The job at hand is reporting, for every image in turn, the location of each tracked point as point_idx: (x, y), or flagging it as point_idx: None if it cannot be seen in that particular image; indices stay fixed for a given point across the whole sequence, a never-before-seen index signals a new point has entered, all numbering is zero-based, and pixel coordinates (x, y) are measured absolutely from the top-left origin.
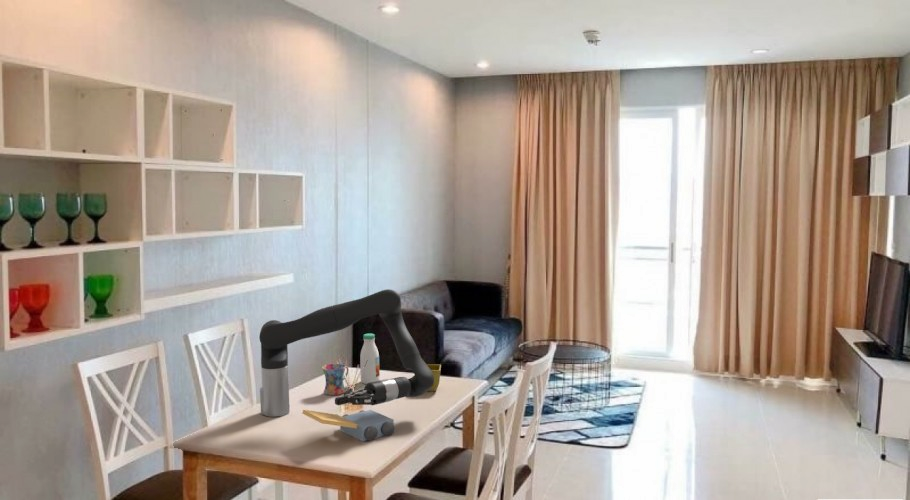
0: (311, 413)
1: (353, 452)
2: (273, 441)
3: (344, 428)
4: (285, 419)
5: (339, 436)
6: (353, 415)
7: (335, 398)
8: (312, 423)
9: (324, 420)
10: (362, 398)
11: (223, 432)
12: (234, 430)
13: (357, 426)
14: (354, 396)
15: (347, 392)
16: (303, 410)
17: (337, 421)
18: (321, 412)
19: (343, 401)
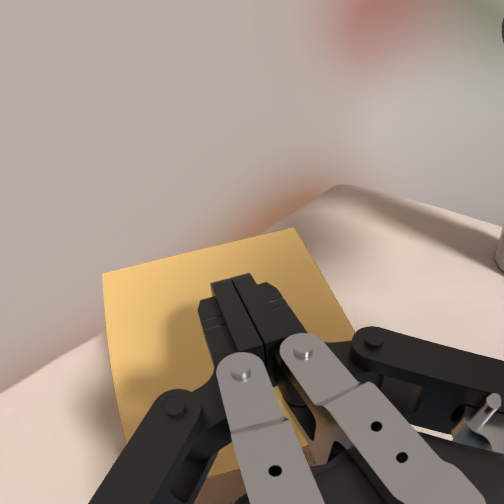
0: (223, 247)
1: (76, 452)
2: None
3: None
4: (489, 284)
5: None
6: None
7: (244, 274)
8: (470, 349)
9: (103, 282)
10: (100, 496)
11: (388, 210)
12: (400, 219)
13: None
14: (171, 413)
15: (408, 360)
16: (290, 230)
17: (114, 349)
18: (337, 309)
19: (206, 340)
